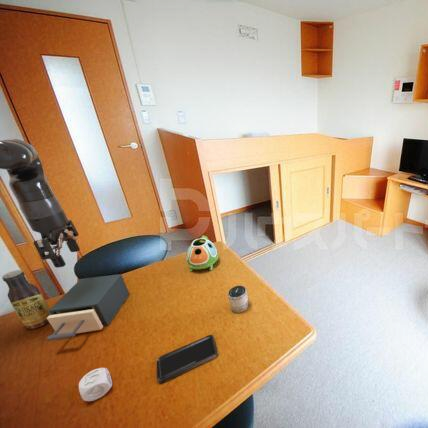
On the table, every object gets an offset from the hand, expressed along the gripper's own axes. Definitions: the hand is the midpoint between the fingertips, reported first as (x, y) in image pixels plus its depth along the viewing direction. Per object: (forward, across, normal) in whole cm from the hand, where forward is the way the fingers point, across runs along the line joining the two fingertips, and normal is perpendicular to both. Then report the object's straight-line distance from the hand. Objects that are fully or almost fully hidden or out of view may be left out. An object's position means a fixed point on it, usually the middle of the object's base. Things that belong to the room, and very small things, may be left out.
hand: (68, 258), depth 75 cm
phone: (+22, +31, +33) cm, 50 cm away
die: (+22, +32, +13) cm, 41 cm away
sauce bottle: (+22, +1, -14) cm, 26 cm away
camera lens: (+22, +16, +48) cm, 55 cm away
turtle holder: (+22, -17, +35) cm, 44 cm away
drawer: (+21, +7, +1) cm, 22 cm away
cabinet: (+22, +2, +2) cm, 22 cm away
